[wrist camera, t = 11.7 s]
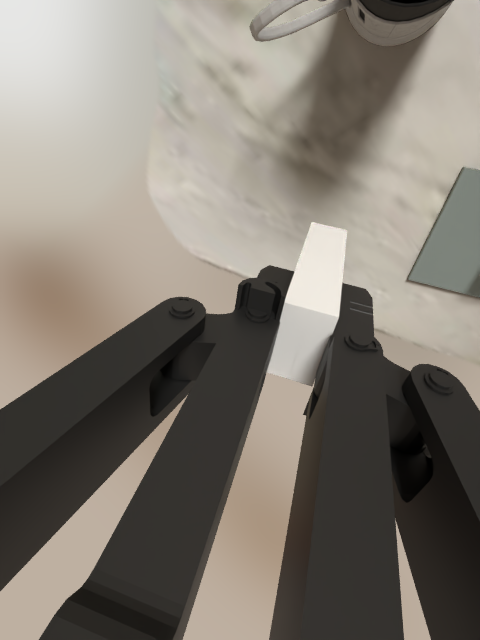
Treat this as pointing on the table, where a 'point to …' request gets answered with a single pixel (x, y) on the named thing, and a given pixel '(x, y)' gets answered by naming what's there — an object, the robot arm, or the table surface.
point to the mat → (454, 241)
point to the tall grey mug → (358, 18)
